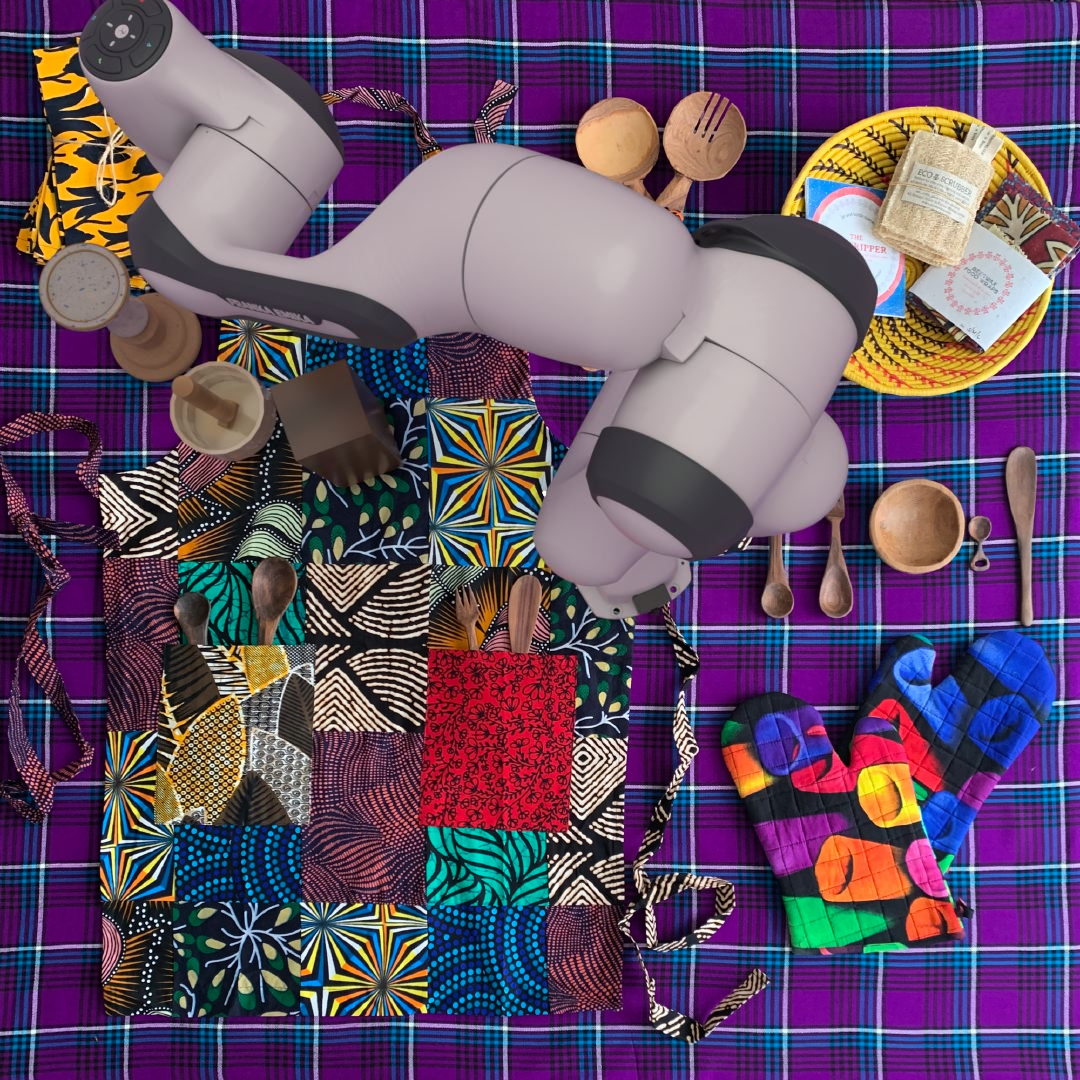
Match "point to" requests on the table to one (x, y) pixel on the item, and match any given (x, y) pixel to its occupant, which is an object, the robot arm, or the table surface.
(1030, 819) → the table surface
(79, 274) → the candle holder
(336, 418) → the stand
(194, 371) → the bowl
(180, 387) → the stick
